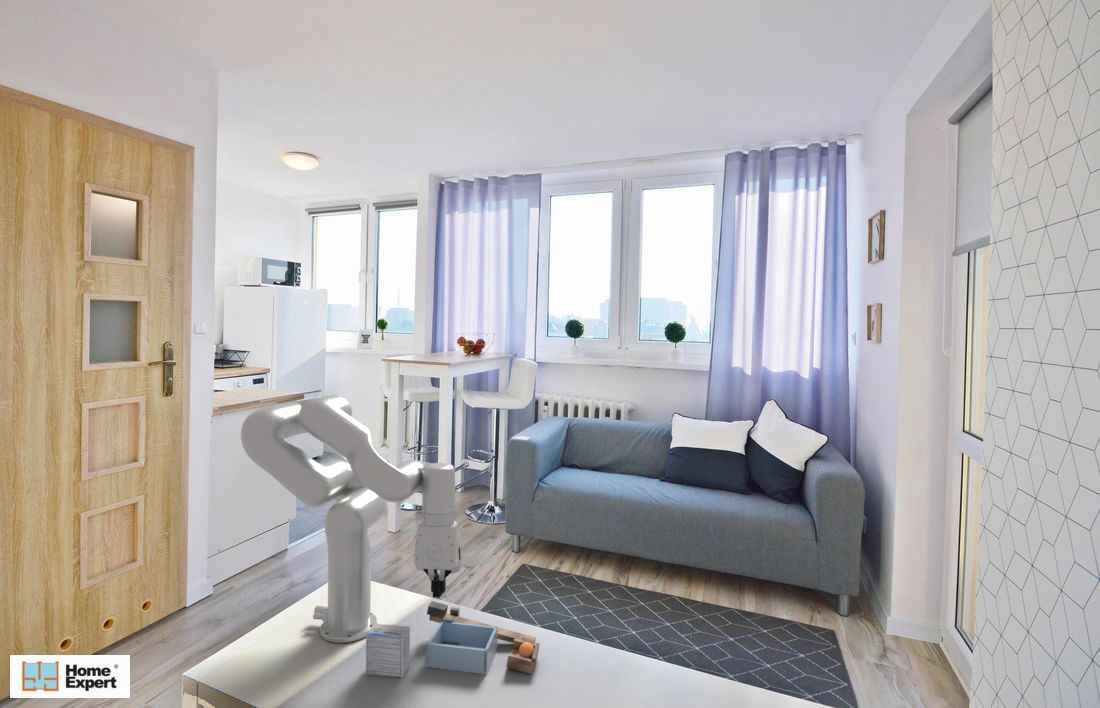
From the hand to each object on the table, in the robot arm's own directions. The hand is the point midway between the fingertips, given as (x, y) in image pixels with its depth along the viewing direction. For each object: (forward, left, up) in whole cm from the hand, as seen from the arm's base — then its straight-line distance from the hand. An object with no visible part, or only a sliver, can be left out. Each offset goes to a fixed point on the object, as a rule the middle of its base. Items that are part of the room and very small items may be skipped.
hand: (438, 594), depth 122 cm
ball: (+22, -7, -8) cm, 24 cm away
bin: (+8, -7, -10) cm, 15 cm away
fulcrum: (+3, 0, -10) cm, 10 cm away
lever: (+11, -5, -8) cm, 14 cm away
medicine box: (-6, -14, -10) cm, 18 cm away
